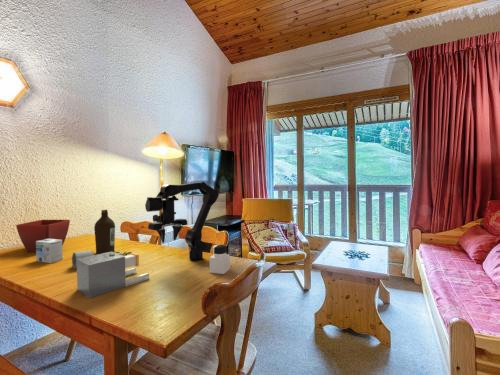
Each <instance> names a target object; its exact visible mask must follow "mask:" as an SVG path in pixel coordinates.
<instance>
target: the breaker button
mask: <svg viewBox="0 0 500 375" xmlns="http://www.w3.org/2000/svg"><path fill="white" fill-rule="evenodd" d="M123 256H124V257H125V269H127V268H130V267H135V268H137V267H139V266H140V257H139V253H136V252H130V254H128V255H123Z"/></svg>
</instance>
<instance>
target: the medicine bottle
mask: <svg viewBox="0 0 500 375" xmlns="http://www.w3.org/2000/svg"><path fill="white" fill-rule="evenodd" d="M212 253H213V254H212V255H211V256H210V257H209V273H211V274H220V275H224V274H226V273H227V272H228V271H229V270H230V269H231V268H230V267H231V266H230V264H231V262H230V260H231V259H230V258H231V256H230V254H228V253H227V246H226V245H224V244H222V243H220V244H215V245H214V246H213V247H212Z"/></svg>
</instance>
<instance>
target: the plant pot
mask: <svg viewBox="0 0 500 375" xmlns="http://www.w3.org/2000/svg"><path fill="white" fill-rule="evenodd" d="M70 223H71V220H70V219H39V220H33V221H28V222H23V223H17V224H16V225H15V227H16V230H17V233H18V237H19V239H20V241H21V243H22V245H23V247H24V248H25V251H27V252H34V253H36V241H40V240H44V239H58V240H62V247H63V245H64V243H65V240H66V238H67V236H68V231H69V227H70Z"/></svg>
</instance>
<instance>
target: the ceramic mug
mask: <svg viewBox="0 0 500 375" xmlns="http://www.w3.org/2000/svg"><path fill="white" fill-rule="evenodd" d="M93 255H95V253H94V252H93V251H92V250H82V251H75V252H73V253H72V255H71V264H72V267H73V269H77V259H78V258H83V257H88V256H93Z"/></svg>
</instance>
